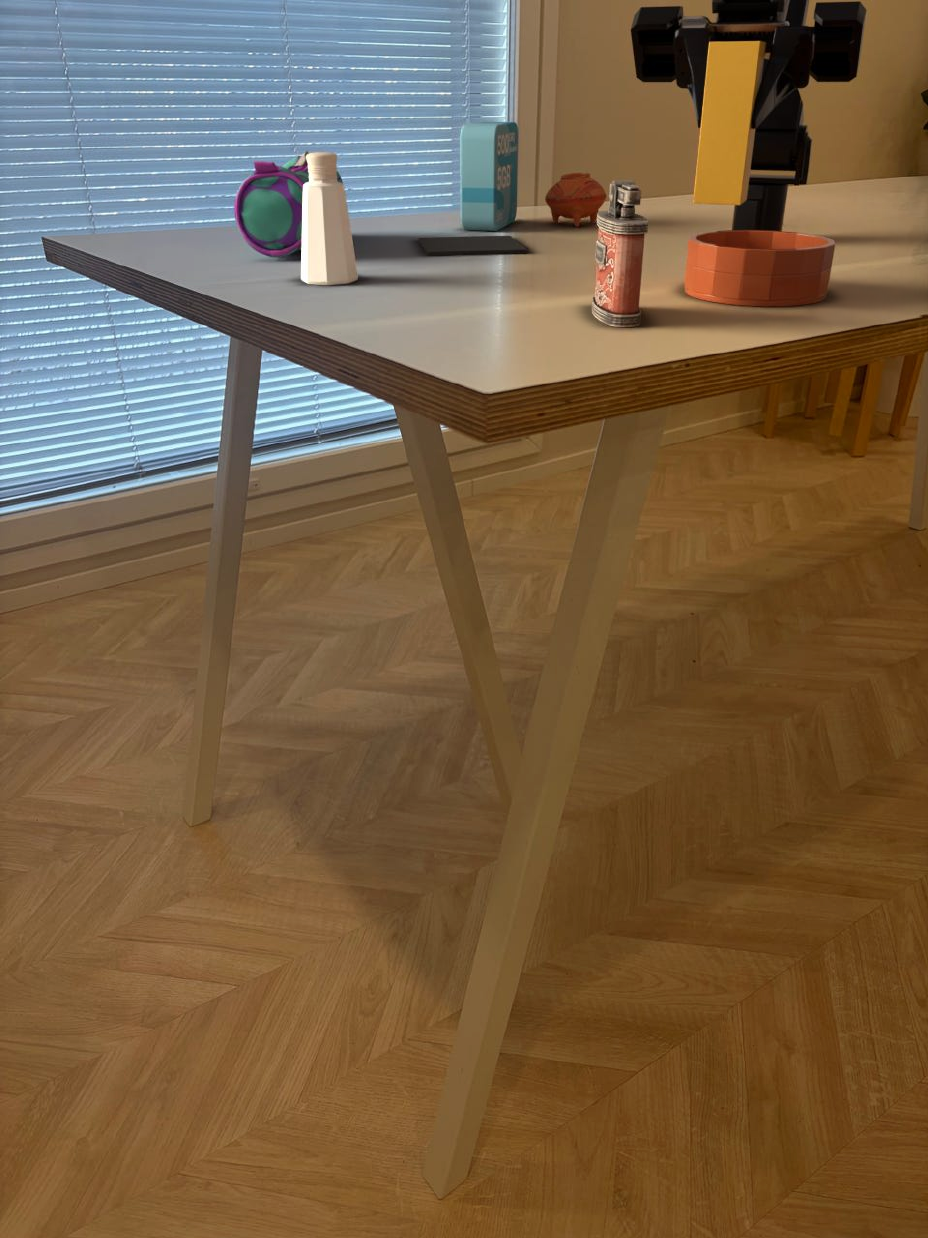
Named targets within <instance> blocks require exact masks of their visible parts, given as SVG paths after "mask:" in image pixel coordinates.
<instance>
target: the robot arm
mask: <svg viewBox="0 0 928 1238" xmlns="http://www.w3.org/2000/svg"><path fill="white" fill-rule="evenodd" d="M809 5H810V0H711V13H712V14H714V15H715V14H716V18H715V22H713V21H711V20H710V19H709V18H708V16H705V15H685V14H684V6H682V5H671V6H670V5H669V6H668V5H667V6H641V7H640V8H639V9H638V10H637V11H636V13H635V14H634V16H633V19H632V23H631V28H630V36H631V43H632V44H631V45H632V52H633V53H632V54H633V60H634V68H635V76H636V79H638V80H639V81H640V82H642V83H673V82H674V81H675V84H676V86H677V87H678V88H680V89H686V90H688V92H689V95H690V97H691V99H692V102H693V105H694V111H695V117H696V118H695V119H696V124H697V128H698V129H701V119H702V109H703V99H704V89H705V79H706V69H707V59H708V49H709V42H728V41H762V42H766V48H765V56H764V64H763V72H762V80H761V84H760V87H759V90H758V93H757V96H756V99H755V103H754V108H753V114H752V119H751V129H755V136H754V144H753V153H752V161H751V169H750V171H767V172H768V171H769V172H770V171H771V172H794V175H790V174H788V175H787V174H754V173H753V174H751V173H750V177H749V185H748V193H747V200H746V201H745V202H744V203H742V204H741V205H733V206H734V207H733V215H732V222H731V223H732V226H731V230H769V231H783V226H784V218H785V211H786V204H787V199H788V189H789V186H790V185H791V186H792V185H793V186H796V187H797V186H803V185H808V179H809V171H810V164H811V156H812V155H811V153H812V144H813V139H812V138H811V136H810V135H809V131H808V130H809V129H808V128H809V125H808V124H804V120H805V119H804V118H805V117H804V116H805V115H804V101H803V100H802V95H801V93H800V90H799V89H805V88H807V87H808V86H809V83H810V80H811V79H810V78H812V79H813V80H814V81H815V82H817V83H850V82H851V81H852V80H854V79H856V78H857V76H858V72H859V66H860V60H861V56H862V49H863V40H864V32H865V25H866V17H867V11H868V10H867V9H866V7H865V6H864V4H863V3H862V1H859V0H858V1H857V0H856V1H819V2H817V1H816V3H815V6H814V11H813V20H814V24H813V26H810V25H806V24H807V17H808V12H809Z"/></svg>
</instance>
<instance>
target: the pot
mask: <svg viewBox="0 0 928 1238" xmlns="http://www.w3.org/2000/svg"><path fill="white" fill-rule="evenodd" d="M607 197H608V196H607V194H606V191H605V188H604V187H603V185H601V183H600V182H599V181H597V180H596V179H594V178H593V177H591V174H590V173H588V172H587V173H583V172H573V173H572V172H571V173H566V174H563V175H561V176H560V179H559V180H558V181H557V182H556V183H554V185H552V186H551V187H550V188H549V190H548V191H547V193H546V195H545V197H544V200H545V201H544V202H545V203H546V205H547V206H548V207H549V209H550V213H551V219H552V221H553V222H554V223H556V224H559V220H560V217H562V218H564V219H570V220H573V222H574V223H573V224H574V227H576V228H579V226H580V223H581V219H585V218H587V217H589V221H590V223H592V224H594V223H596V222H597V212H599V209H600V208H601V207H602V206H603V205H604V203H605V202H606V200H607Z"/></svg>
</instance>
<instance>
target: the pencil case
mask: <svg viewBox="0 0 928 1238" xmlns="http://www.w3.org/2000/svg"><path fill="white" fill-rule="evenodd" d="M309 153H310V152H309V151H308V150H307V149H306V150H305V151H304V152H303V153H302V155H299V154H298V155H297V156H295V157H293V158H292V159H290V160H288V161H287V162H286V163H285V164H284V165H283V166H279V165H277V164H275V162H274V161H264V160H263V161H261V160H254V161H253V165H254V168H255V170H254V171H253V172H252V173H251V174H249V175H248V176H247V177H246V178H245V179H243V181H242V182H241V183H240V185H239V187H238V188H237V191H236V194H235V198H234V203H233V204H234V205H233V210H234V211H233V213H234V221H235V224H236V227H237V229H238V232H239V234H240V235H241V237H242V239H243V240H244V242H245V243H246V244H247V245H248V246H249V247H250V248H251V249H253V250H254V251H255V252H257V253H259V254H260V255H264V256H266V257H269V258H272V259H273V258H274V259H280V258H284V257H287V256H289V255H292V254H294V253H296V252H298V251H302V205H303V185H304V184H305V183H307V182H309V172H308V171H309V170H308V162H307V159H306V155H307V154H309ZM336 173H337V182H340V183H342V184H344V182H343V179H342V175H341V174H340V172H339V171H338V170H337V172H336Z"/></svg>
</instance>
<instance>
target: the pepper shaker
mask: <svg viewBox="0 0 928 1238" xmlns="http://www.w3.org/2000/svg"><path fill="white" fill-rule="evenodd" d="M308 153H309V154H307V155H306V159H307V162H308V170H309V171H308V172H309V182H307V183H305V184H304V185H303V205H302V249H301V255H300V257H301V260H300V280H301V281H302V282H304V283H306V284H307V285H318V286H334V285H335V286H336V285H346V284H350V283H353V282H355V281H357V280H358V279H359V275H358V269H357V261H356V255H355V249H354V243H353V235H352V229H351V223H350V221H351V220H350V215H349V208H348V202H347V195H346V190H345V185H344V183H343V184H342V183H340V182H337V173H336V172H337V171H338V168H337V167H338V166H337V162H338V155H337V153H334V152H331V151H330V152H327V151H326V152H325V151H324V152H323V151H320V152H319V151H318V152H308Z"/></svg>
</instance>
